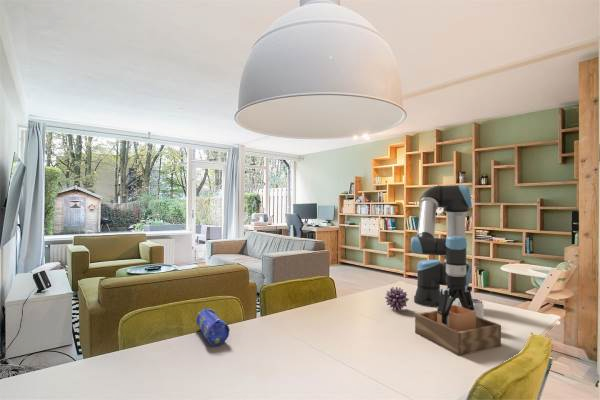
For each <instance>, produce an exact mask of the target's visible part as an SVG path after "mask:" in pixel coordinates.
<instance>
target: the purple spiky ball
mask: <svg viewBox="0 0 600 400" xmlns="http://www.w3.org/2000/svg"><path fill="white" fill-rule="evenodd" d="M407 293H408V292H407V291H404V289H403V288H401V287H398V286H396V287H395V288H394V287H393V286H391V287H390V289H389V290H386V293H385V294H386V296H384V299H386V301H385V302H386V305H387V306H390V307H389V308H392V310H396V311H398V310H400V311H402V309H403V308H404V307H408V306H407V302H408V301H410V300H409V299H410V298H409V297H408V298H407V296H408V294H407Z"/></svg>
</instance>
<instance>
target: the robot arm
mask: <svg viewBox="0 0 600 400" xmlns="http://www.w3.org/2000/svg"><path fill="white" fill-rule="evenodd" d="M418 207H419V216H418V225H417V231H416V232H417V233H416V236H413V237H411V240H410V251H411V253H413V254H417V255H430V256H442V257H443V256H444V257H445V259H444V260H443V261H444V262H443V263H441V260H439V259H424V260H420V261H418V263H417V269H416V271H417V279H416V280H417V285H416V286H417V288H416V291H415V295H414V296H413V302H414V303H415V304H417V305H421V306H425V307H438V311H437V310H436V311H437V313H438V314H441V315H442V323H443V325H444V326H446V327H449V316H448V313H449V311H450V309H451V306H452V304H453V301H455V299H457V298H459V300H460V303H461V305H462V307H464V308H467V309H469V310H474V306H473V301H472V298H473V297H472V288H471V287H470V286H469V285H470V282H471V276H472V266H471V265H470V264H469V261H468V260H467V247H468V244H467V238H466V215H467V213H469V211H470V210H469V209H471V208H473V204H472V198H471V190H470V187H469V186H468V185H463V184H461V185H460V184H458V185H435V186H432V187H430V188H428V189H426V190H425V191H424V192H423V193H422V194H421V197H420V198H419V201H418ZM439 208H443V211H444V213H445V214H446V217H447V218H446V219H447V221H446V222H447V224H446V225H447V226H446V227H447V231H446V233H447V234H446V235H447V236H446V237H445V238H444V237H443V238H439V237H435V233H436V231H435V230H436V217H437V214H436V213H437V210H438V209H439ZM441 286H447V287H446V288H441Z"/></svg>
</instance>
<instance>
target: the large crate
mask: <svg viewBox="0 0 600 400" xmlns="http://www.w3.org/2000/svg"><path fill="white" fill-rule="evenodd" d="M414 334H416V335H419V336H420V337H421V338H424V339H426V340H428V341H430V342H431V343H433V344H434V345H437V346H439V347H440V348H443V349H444V350H447V351H448V352H451V354H455V355H456V356H458V357H460V356H463V355H464V356H465V355H468V354H471V353H477V352H481V351H485V350H490V349H494V348H498V347H499V348H500V347H502V325H501V324H499V323H496V322H493V321H490V320H488V319H486V318H484V319H483V318H480V317H477V316H476V328H475V329H470V330H464V331H459V332H458V331H455V330H453V329H451V328H449V327H446V326H444V325H442V324H440V323H437V310H432V311H426V312H425V311H424V312H417V313H415V314H414Z"/></svg>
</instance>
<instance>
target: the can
mask: <svg viewBox="0 0 600 400" xmlns="http://www.w3.org/2000/svg"><path fill="white" fill-rule="evenodd" d="M472 301H473V306H474V310H472V311H475V312H476V316H477V317H480V318H483V319H485V318H484V317H485V315H484V314H485V312H484V310H485V309H484V303H483V300H481V299H477V298H473V299H472Z"/></svg>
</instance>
